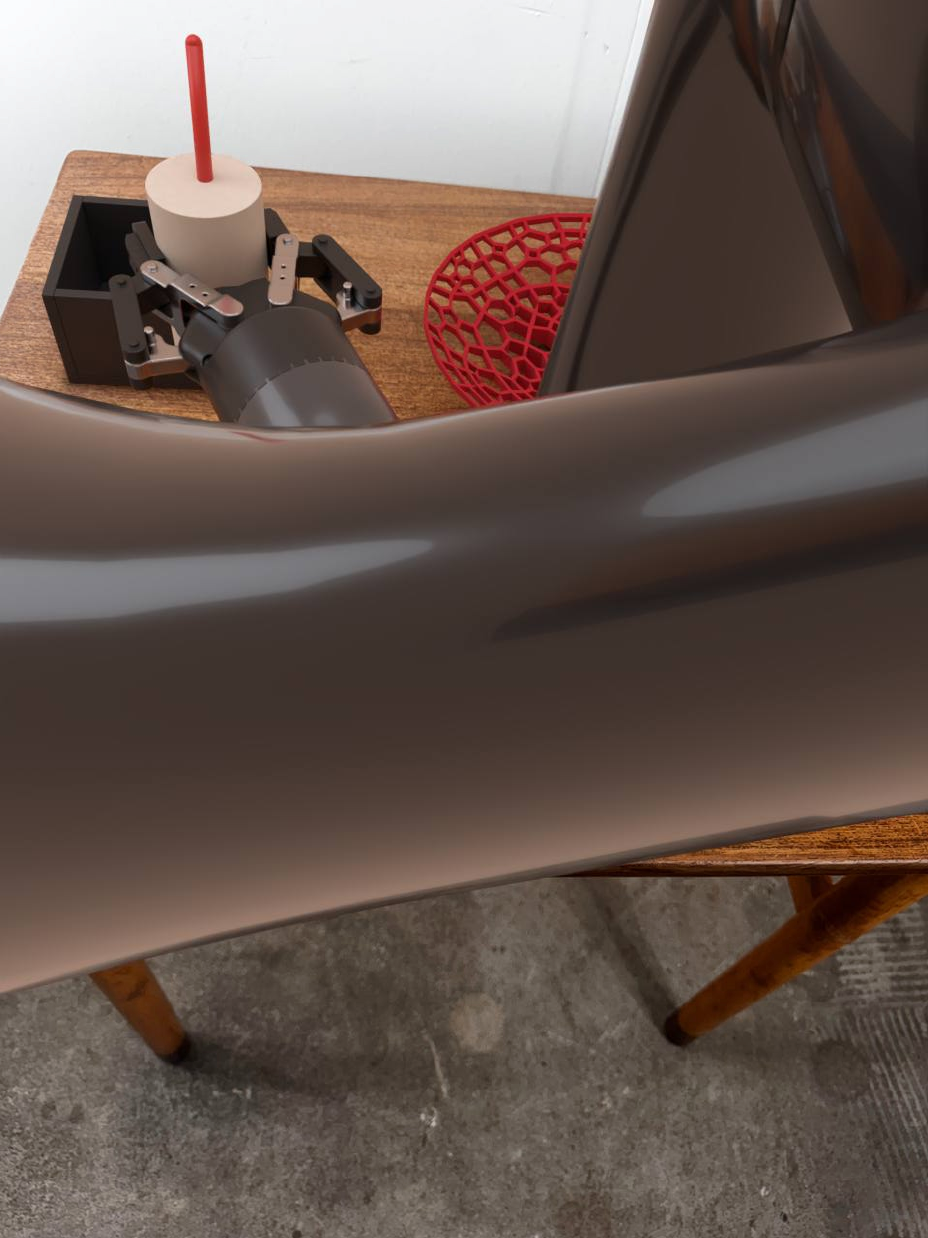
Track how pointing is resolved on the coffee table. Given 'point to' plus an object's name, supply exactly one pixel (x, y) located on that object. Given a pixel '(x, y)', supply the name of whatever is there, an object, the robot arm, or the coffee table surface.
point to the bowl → (539, 324)
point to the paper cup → (207, 203)
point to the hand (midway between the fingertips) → (197, 226)
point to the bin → (97, 291)
